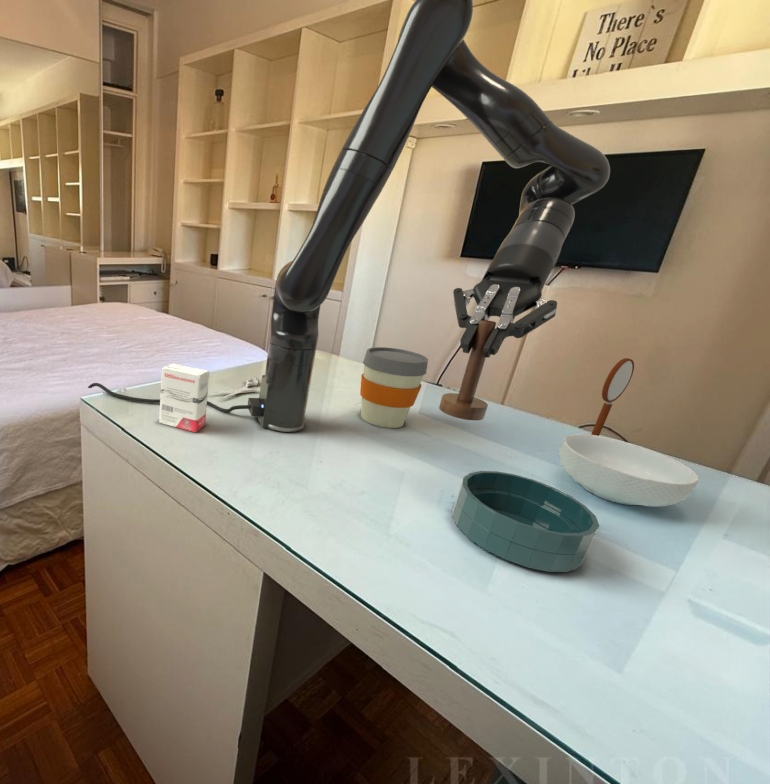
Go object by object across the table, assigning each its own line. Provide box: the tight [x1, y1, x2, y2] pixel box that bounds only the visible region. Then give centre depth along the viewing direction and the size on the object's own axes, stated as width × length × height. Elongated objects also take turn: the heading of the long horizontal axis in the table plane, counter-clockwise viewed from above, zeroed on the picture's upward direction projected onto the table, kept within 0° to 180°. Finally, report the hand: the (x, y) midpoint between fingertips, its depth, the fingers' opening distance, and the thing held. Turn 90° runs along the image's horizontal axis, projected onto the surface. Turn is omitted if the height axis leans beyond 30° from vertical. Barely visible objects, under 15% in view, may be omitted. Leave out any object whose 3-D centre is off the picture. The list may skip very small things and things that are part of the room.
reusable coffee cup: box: [359, 346, 429, 429], centre depth 99 cm, size 13×13×15 cm
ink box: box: [158, 363, 210, 433], centre depth 90 cm, size 8×5×12 cm, turn 63°
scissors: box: [209, 376, 260, 400], centre depth 112 cm, size 11×1×20 cm
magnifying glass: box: [590, 357, 635, 436], centre depth 87 cm, size 9×2×20 cm, turn 117°
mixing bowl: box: [451, 470, 600, 573], centre depth 63 cm, size 15×15×6 cm
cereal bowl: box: [558, 433, 699, 507], centre depth 76 cm, size 17×17×7 cm
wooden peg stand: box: [438, 320, 497, 421], centre depth 66 cm, size 6×6×14 cm
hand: (475, 351), depth 64 cm, fingers closed on wooden peg stand
